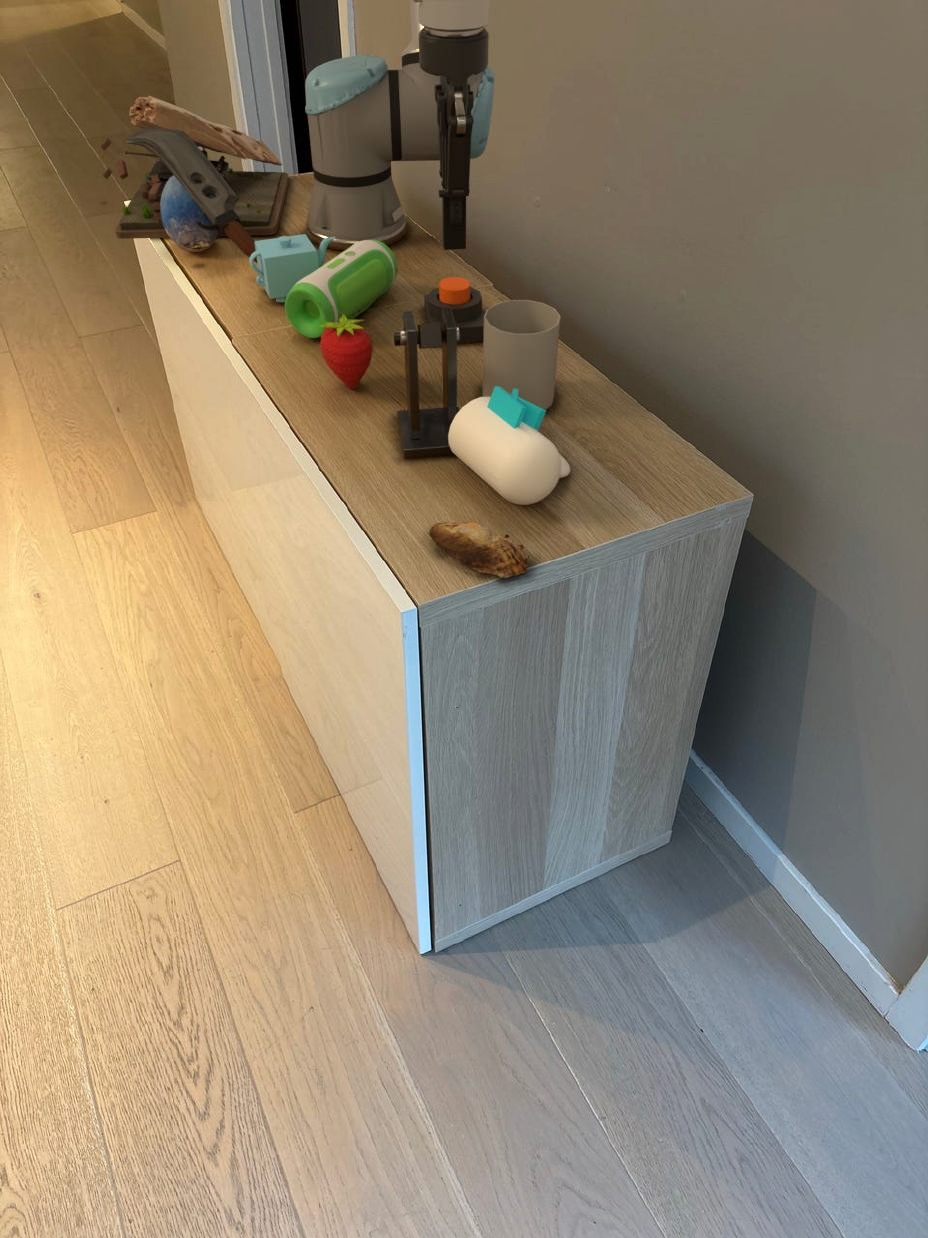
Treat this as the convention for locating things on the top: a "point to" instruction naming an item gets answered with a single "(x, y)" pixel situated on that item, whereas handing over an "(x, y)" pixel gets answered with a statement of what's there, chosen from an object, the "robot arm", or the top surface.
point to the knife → (197, 168)
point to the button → (454, 290)
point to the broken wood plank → (199, 130)
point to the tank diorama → (253, 189)
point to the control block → (458, 315)
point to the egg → (184, 218)
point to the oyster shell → (480, 548)
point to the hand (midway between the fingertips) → (454, 246)
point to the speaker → (341, 287)
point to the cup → (521, 350)
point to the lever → (425, 336)
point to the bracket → (418, 426)
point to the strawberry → (346, 350)
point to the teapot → (286, 262)
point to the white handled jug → (507, 446)
